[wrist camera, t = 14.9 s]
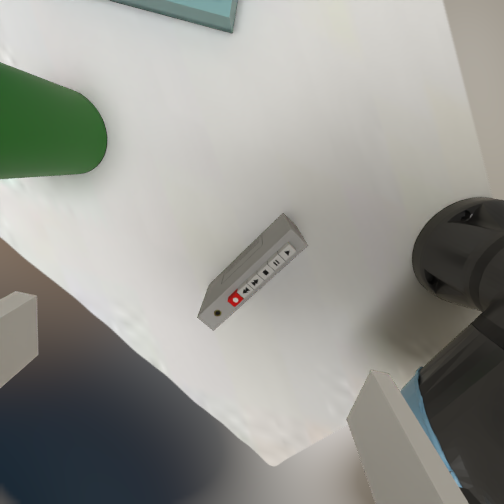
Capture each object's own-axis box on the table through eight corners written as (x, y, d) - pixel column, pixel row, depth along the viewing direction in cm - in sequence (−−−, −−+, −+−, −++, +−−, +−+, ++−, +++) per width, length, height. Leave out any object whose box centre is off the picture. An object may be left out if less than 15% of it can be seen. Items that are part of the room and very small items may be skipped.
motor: (50, 74, 32) (-250, -50, 13) (119, 119, 33) (-59, 66, 14) (25, 151, 35) (-250, 140, 16) (90, 188, 36) (-92, 221, 17)
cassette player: (222, 295, 41) (212, 335, 32) (209, 284, 41) (195, 322, 31) (296, 226, 38) (309, 248, 28) (283, 212, 37) (292, 231, 28)
